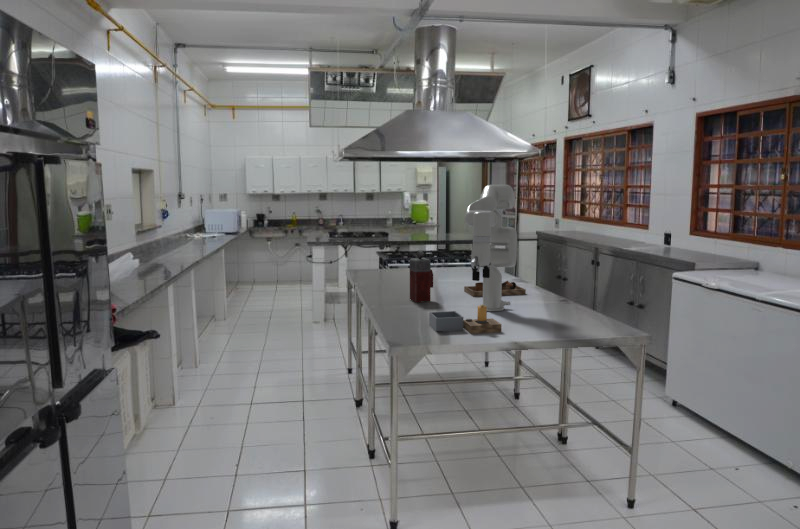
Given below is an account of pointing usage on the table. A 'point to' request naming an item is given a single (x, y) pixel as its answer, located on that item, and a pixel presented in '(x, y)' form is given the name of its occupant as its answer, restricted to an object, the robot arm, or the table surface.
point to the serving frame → (505, 291)
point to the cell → (482, 314)
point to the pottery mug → (509, 285)
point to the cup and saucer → (478, 287)
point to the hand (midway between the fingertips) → (481, 279)
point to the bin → (446, 321)
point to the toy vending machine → (420, 278)
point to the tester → (481, 326)
